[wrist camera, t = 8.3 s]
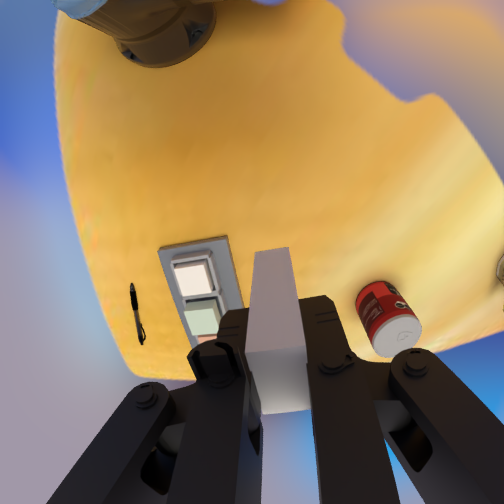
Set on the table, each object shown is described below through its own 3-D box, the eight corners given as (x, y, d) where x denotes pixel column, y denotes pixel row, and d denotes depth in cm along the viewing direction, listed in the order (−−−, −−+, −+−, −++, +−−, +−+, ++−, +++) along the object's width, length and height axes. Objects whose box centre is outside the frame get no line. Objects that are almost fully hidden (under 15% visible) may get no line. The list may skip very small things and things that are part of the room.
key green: (187, 302, 43) (183, 311, 41) (215, 299, 42) (212, 308, 40) (195, 326, 45) (192, 335, 42) (222, 323, 44) (220, 332, 42)
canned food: (399, 307, 46) (423, 345, 36) (359, 324, 48) (377, 365, 37) (392, 272, 44) (420, 307, 33) (350, 290, 45) (369, 330, 35)
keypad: (160, 247, 44) (152, 256, 41) (227, 235, 43) (224, 243, 39) (196, 349, 51) (192, 362, 48) (253, 344, 50) (252, 357, 47)
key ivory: (178, 262, 42) (173, 269, 40) (206, 257, 42) (203, 264, 39) (186, 288, 44) (182, 296, 41) (214, 284, 43) (211, 292, 41)
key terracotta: (200, 328, 47) (197, 337, 44) (226, 325, 46) (224, 335, 44) (207, 348, 48) (205, 357, 46) (232, 346, 48) (230, 355, 45)
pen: (147, 342, 53) (147, 346, 52) (139, 342, 52) (139, 346, 51) (137, 282, 47) (137, 285, 46) (128, 282, 47) (128, 285, 46)
